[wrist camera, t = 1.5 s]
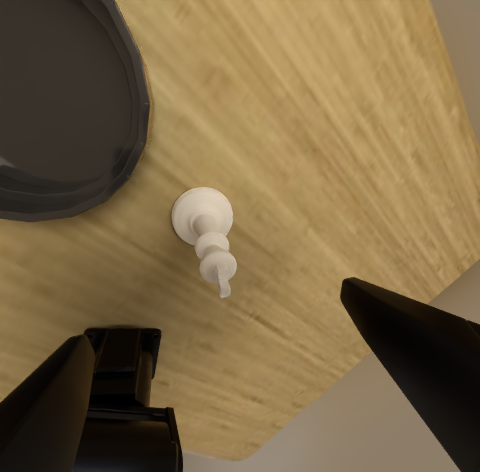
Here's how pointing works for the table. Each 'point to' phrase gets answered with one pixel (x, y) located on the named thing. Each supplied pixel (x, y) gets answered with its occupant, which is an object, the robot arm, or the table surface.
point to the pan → (68, 107)
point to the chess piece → (207, 233)
